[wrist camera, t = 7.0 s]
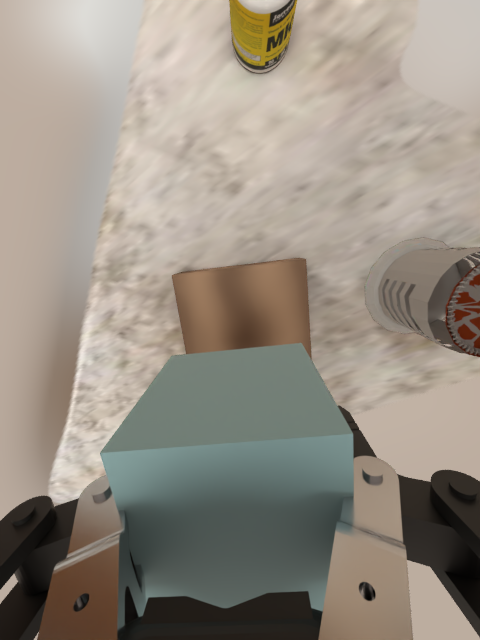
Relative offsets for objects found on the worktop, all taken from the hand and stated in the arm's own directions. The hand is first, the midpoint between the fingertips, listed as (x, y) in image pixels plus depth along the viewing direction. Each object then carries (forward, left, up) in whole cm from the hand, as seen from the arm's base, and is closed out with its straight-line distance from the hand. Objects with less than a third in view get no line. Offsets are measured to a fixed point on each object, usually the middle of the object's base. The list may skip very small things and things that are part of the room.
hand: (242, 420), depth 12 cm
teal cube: (0, 0, -1) cm, 1 cm away
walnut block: (0, 0, -17) cm, 17 cm away
